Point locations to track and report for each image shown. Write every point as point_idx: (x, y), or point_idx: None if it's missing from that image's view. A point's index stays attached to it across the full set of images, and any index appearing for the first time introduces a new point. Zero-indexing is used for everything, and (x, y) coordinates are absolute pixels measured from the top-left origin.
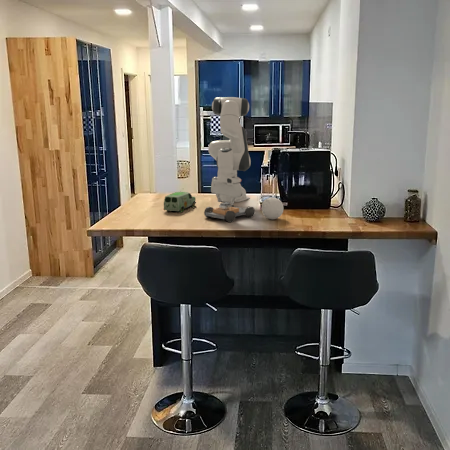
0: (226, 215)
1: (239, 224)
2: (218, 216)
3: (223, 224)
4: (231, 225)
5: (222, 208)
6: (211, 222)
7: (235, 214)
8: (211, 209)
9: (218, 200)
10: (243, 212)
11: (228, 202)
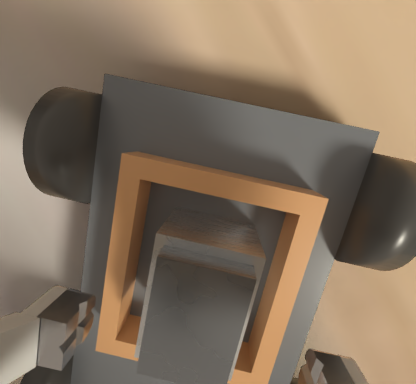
0: (78, 91)
1: (6, 112)
2: (181, 92)
3: (102, 39)
4: (31, 45)
5: (205, 230)
6: (228, 46)
7: (90, 237)
8: (359, 228)
9: (341, 368)
10: None
11: (187, 381)
